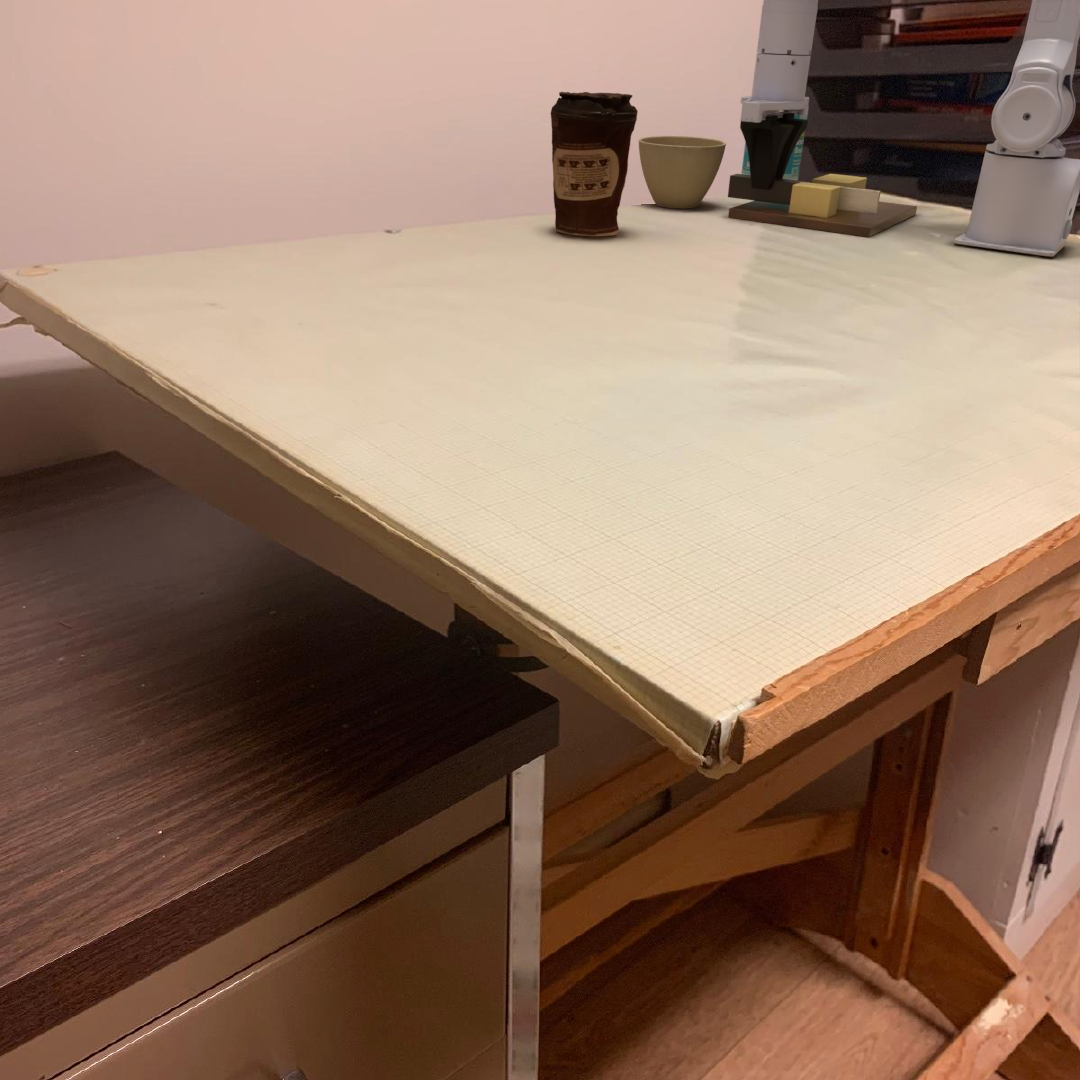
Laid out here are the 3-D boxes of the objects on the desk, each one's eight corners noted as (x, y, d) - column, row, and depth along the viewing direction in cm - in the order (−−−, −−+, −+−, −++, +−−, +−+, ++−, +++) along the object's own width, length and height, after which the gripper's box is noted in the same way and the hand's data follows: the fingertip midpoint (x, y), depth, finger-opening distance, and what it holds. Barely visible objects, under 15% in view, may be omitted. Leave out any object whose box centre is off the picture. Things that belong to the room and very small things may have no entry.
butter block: (862, 204, 116) (867, 177, 114) (845, 211, 111) (850, 183, 110) (826, 200, 118) (830, 173, 116) (808, 206, 113) (812, 178, 112)
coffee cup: (622, 244, 96) (632, 97, 90) (538, 237, 97) (543, 93, 91) (632, 228, 103) (643, 92, 97) (554, 222, 105) (560, 87, 98)
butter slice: (836, 214, 109) (841, 186, 108) (827, 218, 107) (831, 189, 105) (798, 209, 111) (802, 181, 110) (788, 213, 109) (792, 184, 107)
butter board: (915, 214, 117) (917, 206, 116) (868, 237, 103) (870, 227, 103) (786, 198, 124) (788, 190, 124) (727, 217, 111) (729, 208, 110)
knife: (878, 213, 108) (883, 190, 106) (873, 215, 106) (877, 192, 105) (734, 195, 116) (737, 173, 115) (727, 197, 114) (730, 175, 113)
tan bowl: (630, 196, 121) (635, 134, 118) (712, 199, 121) (719, 137, 118) (637, 211, 112) (642, 143, 109) (724, 214, 113) (732, 147, 109)
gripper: (774, 52, 113) (757, 176, 120) (721, 53, 102) (706, 190, 109) (833, 55, 110) (813, 183, 116) (785, 56, 99) (766, 197, 105)
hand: (765, 187), depth 112 cm, fingers closed on knife, 2 cm apart
